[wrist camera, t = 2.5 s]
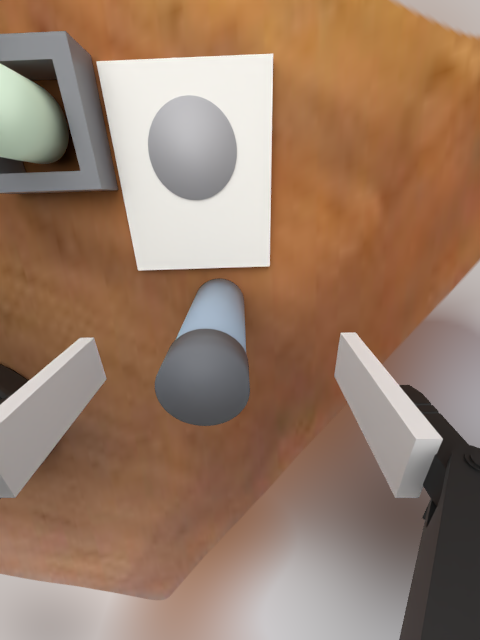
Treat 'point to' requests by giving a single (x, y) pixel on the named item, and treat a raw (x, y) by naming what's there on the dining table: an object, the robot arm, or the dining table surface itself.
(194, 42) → the dining table surface
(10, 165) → the button housing
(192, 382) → the capped blue-grey cylinder
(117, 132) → the white flat plate
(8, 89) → the button
